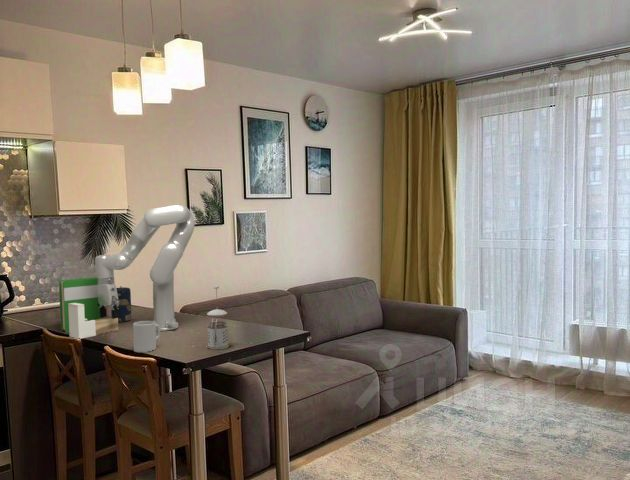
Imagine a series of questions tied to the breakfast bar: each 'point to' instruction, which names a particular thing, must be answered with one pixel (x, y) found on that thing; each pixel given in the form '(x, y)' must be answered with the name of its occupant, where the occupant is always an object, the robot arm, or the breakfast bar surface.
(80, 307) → the white stepped block
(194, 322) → the breakfast bar surface
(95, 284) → the hardback book
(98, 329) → the light wood block
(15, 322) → the breakfast bar surface
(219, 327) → the french press
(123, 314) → the canister
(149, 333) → the mug
